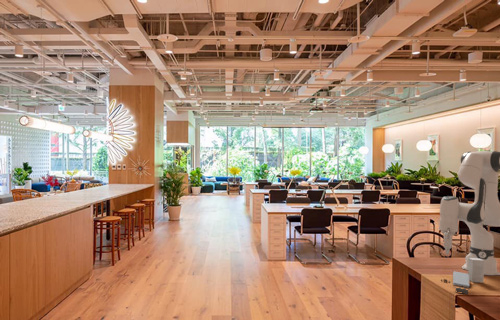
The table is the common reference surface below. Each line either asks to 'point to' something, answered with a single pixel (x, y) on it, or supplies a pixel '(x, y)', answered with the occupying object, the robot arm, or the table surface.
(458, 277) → the ramp
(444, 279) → the stand
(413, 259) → the table surface
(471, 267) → the skincare box
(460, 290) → the rail
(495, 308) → the table surface
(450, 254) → the ball
